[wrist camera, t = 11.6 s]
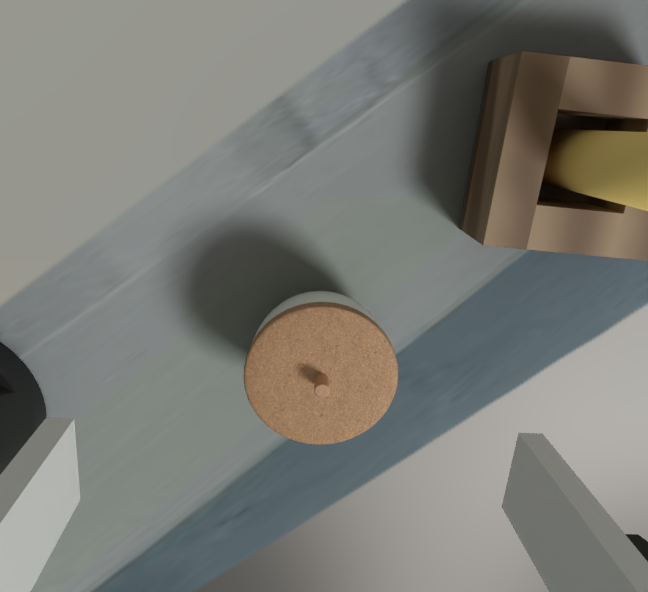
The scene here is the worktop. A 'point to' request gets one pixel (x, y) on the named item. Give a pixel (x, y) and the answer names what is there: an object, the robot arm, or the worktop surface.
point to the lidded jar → (320, 369)
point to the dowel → (600, 165)
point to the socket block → (532, 151)
